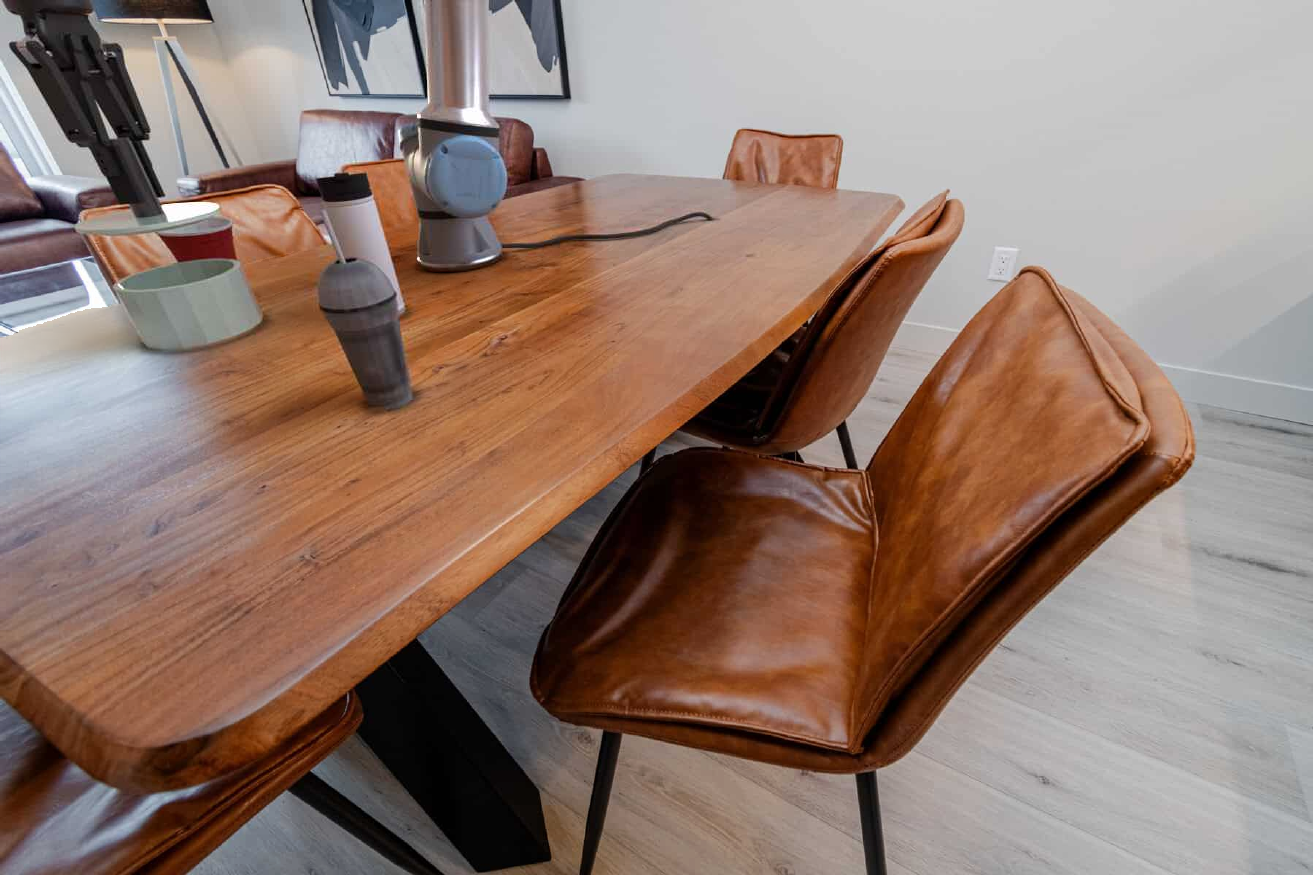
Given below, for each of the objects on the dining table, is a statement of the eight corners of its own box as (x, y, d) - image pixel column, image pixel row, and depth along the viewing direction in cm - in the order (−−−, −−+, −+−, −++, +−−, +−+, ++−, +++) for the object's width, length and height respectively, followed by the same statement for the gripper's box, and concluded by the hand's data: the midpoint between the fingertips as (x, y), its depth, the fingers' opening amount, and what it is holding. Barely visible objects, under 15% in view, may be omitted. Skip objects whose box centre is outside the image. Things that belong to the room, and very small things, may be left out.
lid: (246, 208, 85) (214, 128, 80) (176, 236, 72) (133, 142, 67) (136, 214, 85) (96, 134, 80) (46, 243, 72) (-9, 150, 66)
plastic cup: (226, 307, 95) (191, 230, 89) (171, 305, 98) (133, 230, 91) (275, 285, 104) (247, 214, 98) (223, 284, 106) (192, 214, 100)
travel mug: (364, 328, 85) (313, 176, 74) (360, 314, 90) (312, 170, 79) (409, 319, 87) (367, 170, 76) (403, 305, 92) (363, 165, 81)
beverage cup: (384, 423, 62) (315, 223, 51) (341, 407, 65) (269, 216, 54) (439, 393, 67) (388, 205, 56) (397, 380, 70) (341, 200, 59)
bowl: (282, 310, 93) (260, 255, 88) (229, 349, 81) (200, 288, 76) (187, 316, 93) (160, 261, 88) (120, 356, 80) (85, 294, 76)
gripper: (58, -20, 71) (156, 190, 84) (-78, -38, 57) (63, 216, 70) (122, -23, 71) (209, 187, 84) (1, -42, 58) (128, 212, 70)
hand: (143, 200), depth 77 cm, fingers closed on lid, 3 cm apart
